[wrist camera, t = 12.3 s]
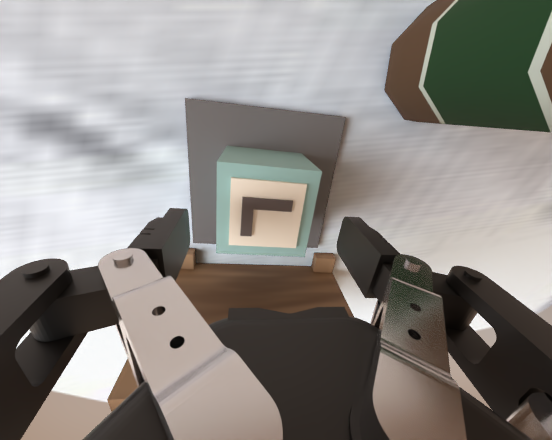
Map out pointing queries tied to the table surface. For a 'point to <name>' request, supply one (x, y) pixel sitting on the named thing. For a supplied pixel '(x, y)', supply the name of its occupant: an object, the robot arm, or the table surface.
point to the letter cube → (264, 202)
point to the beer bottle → (476, 65)
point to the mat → (259, 135)
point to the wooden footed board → (247, 295)
